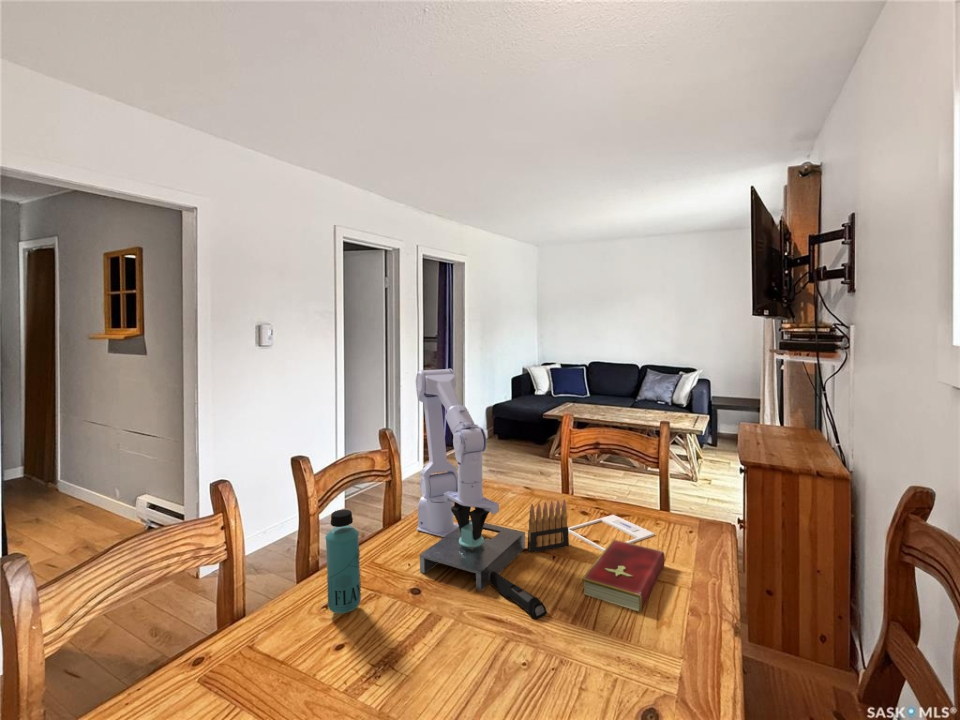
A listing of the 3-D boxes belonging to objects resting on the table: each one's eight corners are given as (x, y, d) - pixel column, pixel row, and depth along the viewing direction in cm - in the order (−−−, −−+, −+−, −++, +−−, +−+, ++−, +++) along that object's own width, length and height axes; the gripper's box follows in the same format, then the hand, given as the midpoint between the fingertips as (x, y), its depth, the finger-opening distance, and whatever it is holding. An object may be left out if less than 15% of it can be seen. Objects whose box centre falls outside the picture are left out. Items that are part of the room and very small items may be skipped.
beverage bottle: (330, 625, 88) (326, 521, 87) (324, 607, 94) (321, 509, 93) (365, 615, 91) (362, 514, 90) (357, 598, 97) (354, 503, 96)
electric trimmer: (499, 581, 104) (499, 567, 104) (548, 615, 91) (548, 599, 91) (485, 587, 102) (485, 572, 101) (533, 622, 89) (533, 606, 89)
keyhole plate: (420, 572, 107) (419, 554, 107) (470, 534, 126) (470, 519, 126) (481, 591, 99) (480, 572, 99) (525, 548, 118) (524, 532, 118)
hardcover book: (664, 568, 109) (665, 550, 108) (641, 615, 91) (641, 594, 91) (613, 554, 115) (613, 538, 115) (581, 596, 98) (581, 577, 97)
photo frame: (654, 532, 124) (604, 549, 115) (654, 536, 125) (604, 554, 116) (613, 514, 137) (565, 527, 128) (613, 517, 137) (565, 531, 128)
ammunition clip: (565, 543, 121) (565, 497, 120) (569, 546, 119) (569, 499, 118) (527, 549, 117) (526, 502, 116) (530, 553, 116) (530, 505, 115)
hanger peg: (453, 556, 110) (453, 528, 110) (469, 546, 115) (468, 519, 115) (474, 563, 107) (474, 534, 106) (489, 552, 112) (489, 525, 111)
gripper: (505, 480, 109) (506, 537, 110) (456, 470, 117) (456, 523, 118) (488, 489, 103) (489, 549, 104) (437, 477, 111) (438, 533, 112)
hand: (471, 536), depth 111 cm, fingers closed on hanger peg, 3 cm apart
